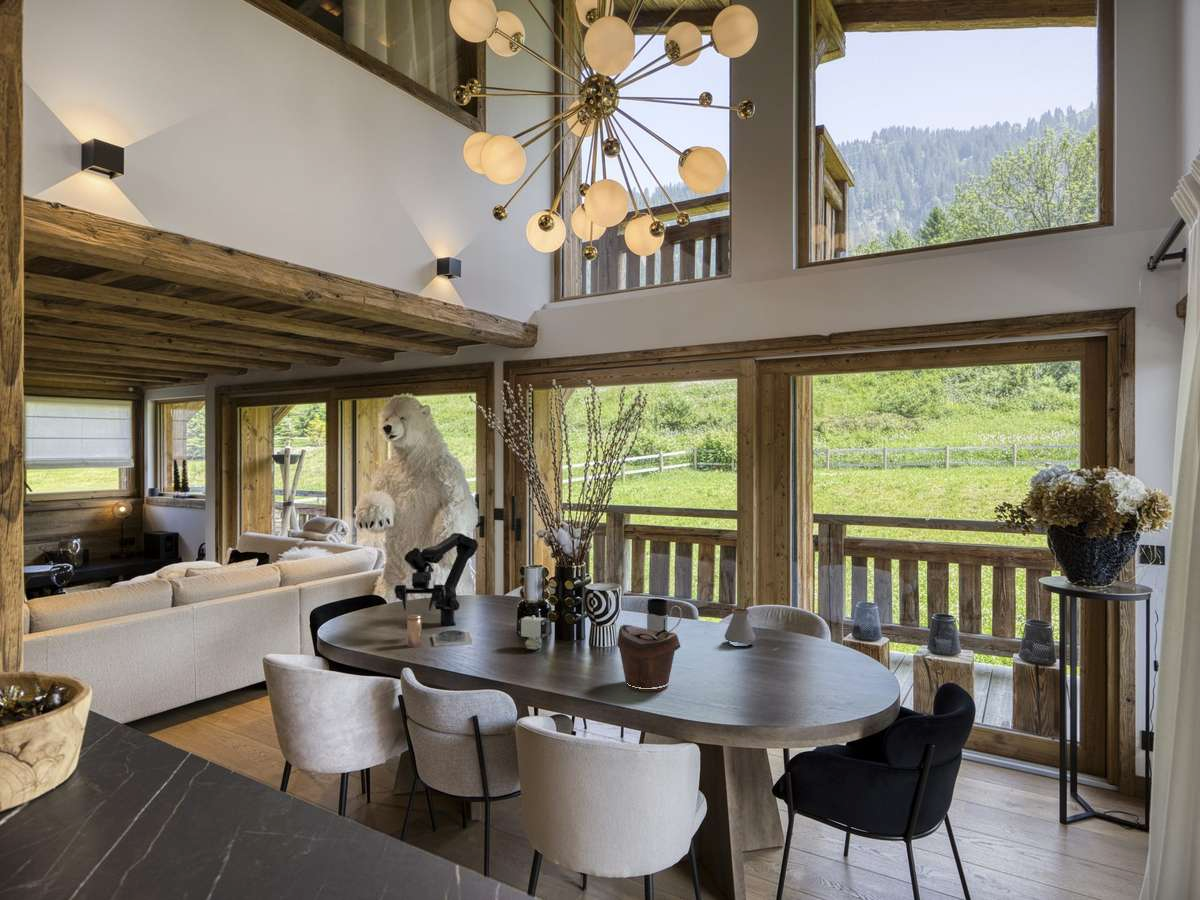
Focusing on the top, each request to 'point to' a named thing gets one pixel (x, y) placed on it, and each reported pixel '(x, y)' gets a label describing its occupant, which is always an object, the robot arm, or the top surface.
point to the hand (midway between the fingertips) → (417, 610)
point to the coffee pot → (740, 626)
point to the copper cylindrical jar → (414, 631)
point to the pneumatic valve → (533, 630)
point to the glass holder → (658, 615)
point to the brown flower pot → (646, 656)
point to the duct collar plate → (451, 638)
